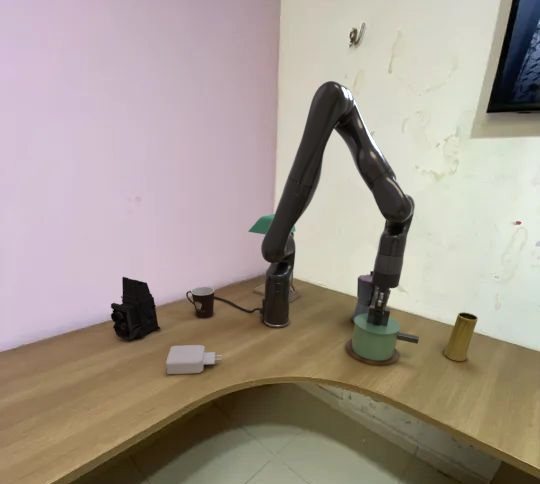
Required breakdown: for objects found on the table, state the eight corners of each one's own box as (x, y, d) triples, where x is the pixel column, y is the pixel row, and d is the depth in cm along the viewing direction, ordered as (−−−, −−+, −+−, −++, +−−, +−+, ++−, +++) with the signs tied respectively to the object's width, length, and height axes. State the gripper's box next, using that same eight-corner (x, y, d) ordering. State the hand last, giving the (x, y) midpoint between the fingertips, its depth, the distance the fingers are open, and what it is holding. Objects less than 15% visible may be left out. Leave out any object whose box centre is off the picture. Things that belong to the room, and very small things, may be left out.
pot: (346, 354, 97) (352, 312, 90) (354, 334, 108) (361, 296, 102) (412, 371, 89) (424, 326, 83) (414, 348, 101) (424, 307, 94)
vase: (463, 353, 100) (477, 313, 94) (467, 363, 95) (482, 322, 89) (442, 349, 102) (454, 310, 96) (445, 359, 97) (458, 318, 91)
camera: (110, 339, 103) (96, 282, 94) (142, 323, 114) (132, 270, 105) (131, 347, 99) (119, 289, 90) (162, 329, 110) (154, 275, 101)
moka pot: (373, 314, 125) (382, 266, 116) (381, 332, 111) (392, 280, 102) (349, 312, 126) (356, 265, 117) (354, 331, 112) (363, 278, 103)
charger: (221, 373, 88) (167, 376, 86) (223, 355, 96) (173, 357, 95) (221, 360, 86) (165, 362, 84) (222, 342, 94) (172, 344, 93)
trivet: (339, 354, 98) (339, 353, 97) (355, 334, 110) (355, 332, 110) (391, 372, 90) (392, 370, 90) (402, 347, 102) (403, 346, 102)
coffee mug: (220, 315, 121) (218, 291, 117) (200, 321, 116) (198, 297, 112) (205, 305, 129) (203, 283, 125) (186, 311, 124) (183, 287, 120)
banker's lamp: (286, 304, 131) (290, 220, 116) (246, 293, 142) (246, 214, 126) (303, 293, 143) (309, 215, 128) (266, 284, 154) (267, 210, 138)
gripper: (377, 261, 95) (368, 311, 103) (370, 273, 84) (360, 329, 91) (403, 264, 92) (392, 316, 100) (399, 278, 81) (387, 335, 88)
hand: (377, 322), depth 95 cm, fingers closed on pot, 2 cm apart
